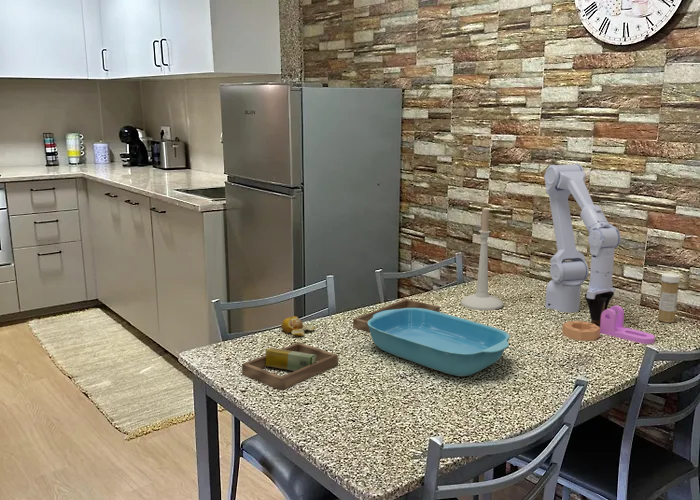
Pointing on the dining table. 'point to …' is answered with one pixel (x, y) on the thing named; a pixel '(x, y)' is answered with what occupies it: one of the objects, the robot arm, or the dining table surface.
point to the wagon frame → (363, 320)
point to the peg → (600, 318)
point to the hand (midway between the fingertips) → (597, 318)
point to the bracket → (621, 327)
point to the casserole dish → (438, 340)
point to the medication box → (288, 359)
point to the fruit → (294, 326)
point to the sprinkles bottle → (668, 297)
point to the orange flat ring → (581, 330)
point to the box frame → (282, 382)
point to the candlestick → (483, 275)
